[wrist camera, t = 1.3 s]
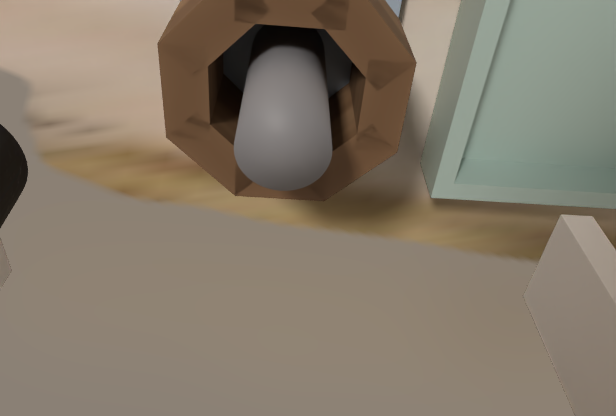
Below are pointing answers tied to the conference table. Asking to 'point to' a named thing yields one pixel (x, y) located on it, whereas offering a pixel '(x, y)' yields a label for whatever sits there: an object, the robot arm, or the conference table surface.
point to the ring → (228, 97)
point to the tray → (527, 105)
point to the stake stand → (286, 101)
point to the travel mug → (10, 172)
